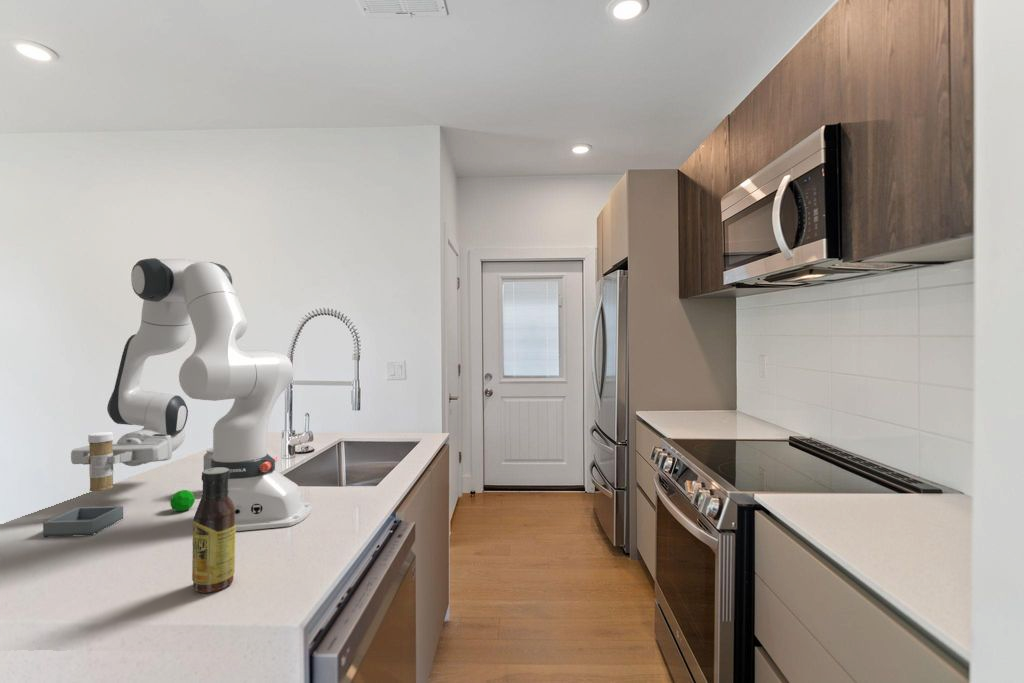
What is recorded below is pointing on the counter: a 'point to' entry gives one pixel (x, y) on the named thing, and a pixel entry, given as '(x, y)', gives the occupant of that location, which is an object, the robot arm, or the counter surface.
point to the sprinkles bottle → (100, 461)
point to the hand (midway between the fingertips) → (98, 460)
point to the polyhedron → (182, 500)
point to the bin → (83, 521)
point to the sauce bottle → (214, 534)
